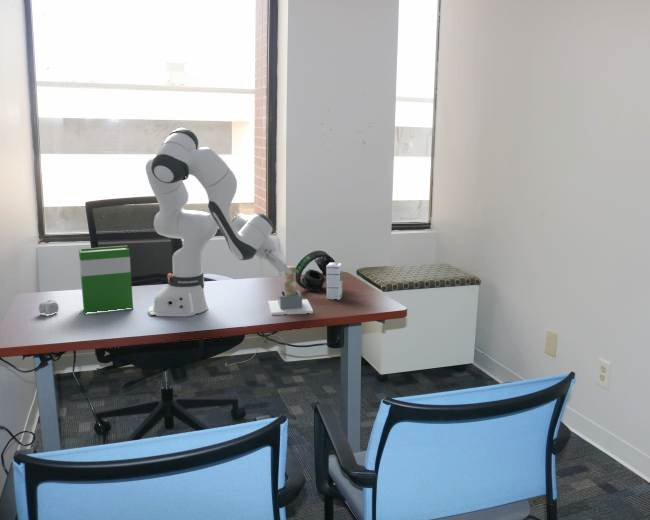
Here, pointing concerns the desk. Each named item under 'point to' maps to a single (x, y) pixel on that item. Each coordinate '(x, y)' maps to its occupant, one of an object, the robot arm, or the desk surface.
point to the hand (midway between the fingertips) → (290, 271)
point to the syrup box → (334, 280)
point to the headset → (312, 277)
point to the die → (48, 307)
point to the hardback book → (106, 278)
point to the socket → (289, 304)
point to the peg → (290, 281)
